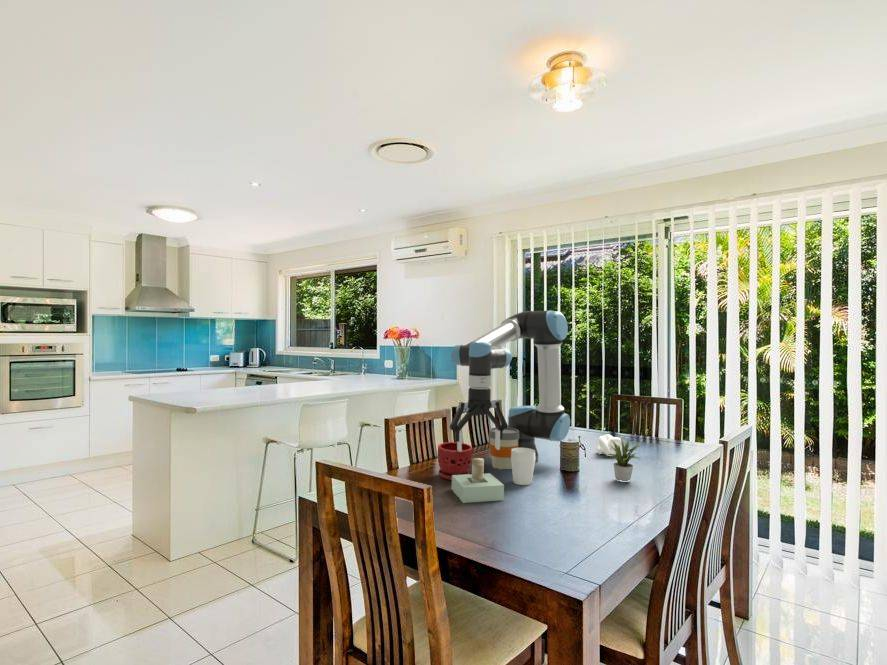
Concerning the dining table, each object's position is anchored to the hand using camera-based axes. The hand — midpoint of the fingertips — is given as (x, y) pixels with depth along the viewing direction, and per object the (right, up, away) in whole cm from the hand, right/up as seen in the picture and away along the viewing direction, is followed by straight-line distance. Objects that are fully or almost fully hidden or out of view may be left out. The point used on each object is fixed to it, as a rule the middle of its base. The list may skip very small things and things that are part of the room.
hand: (478, 449), depth 175 cm
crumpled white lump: (+63, -17, +61) cm, 89 cm away
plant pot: (-8, -15, +20) cm, 26 cm away
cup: (+17, -16, +15) cm, 28 cm away
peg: (0, -15, 0) cm, 15 cm away
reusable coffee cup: (+13, -15, +36) cm, 42 cm away
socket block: (-1, -15, 0) cm, 15 cm away
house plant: (+56, -17, +19) cm, 62 cm away
